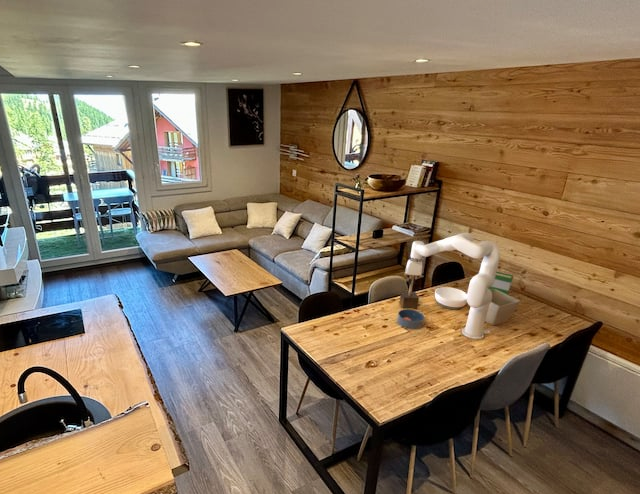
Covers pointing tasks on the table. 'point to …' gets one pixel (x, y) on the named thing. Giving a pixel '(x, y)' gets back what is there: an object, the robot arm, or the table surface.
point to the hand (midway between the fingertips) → (411, 283)
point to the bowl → (450, 298)
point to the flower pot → (500, 307)
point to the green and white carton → (502, 282)
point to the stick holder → (409, 300)
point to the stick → (411, 286)
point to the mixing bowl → (415, 317)
